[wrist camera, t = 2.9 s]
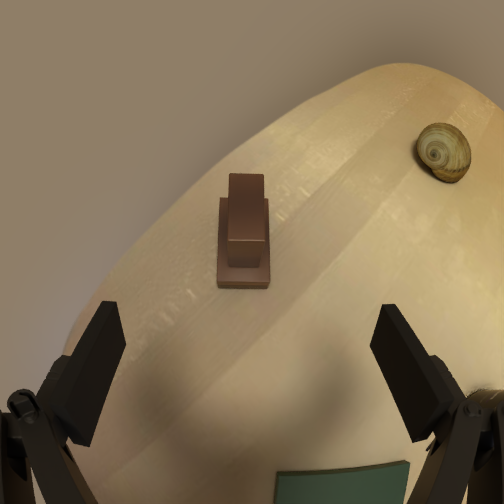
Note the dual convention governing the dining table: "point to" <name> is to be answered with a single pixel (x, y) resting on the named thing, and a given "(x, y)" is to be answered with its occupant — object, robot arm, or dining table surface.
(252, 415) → the dining table surface
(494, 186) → the dining table surface
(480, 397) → the supplement bottle
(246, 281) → the duster
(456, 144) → the seashell
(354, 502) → the chalkboard
